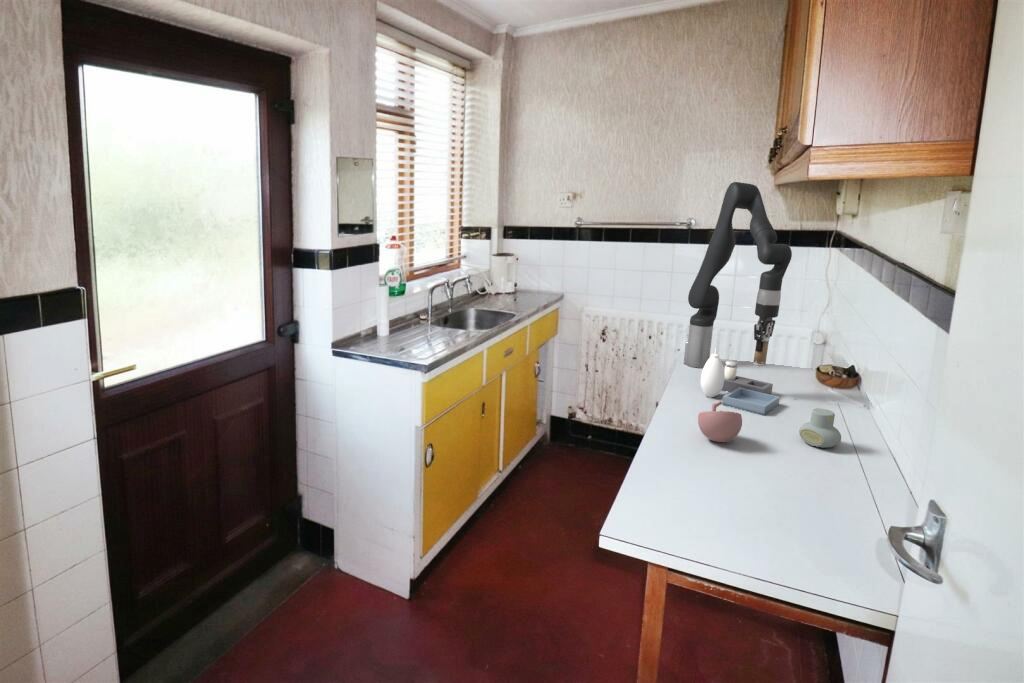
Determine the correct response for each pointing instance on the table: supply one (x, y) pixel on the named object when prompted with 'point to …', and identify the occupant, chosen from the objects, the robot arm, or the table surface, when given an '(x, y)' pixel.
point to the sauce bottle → (712, 376)
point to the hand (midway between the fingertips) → (761, 350)
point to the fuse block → (747, 385)
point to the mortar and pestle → (719, 424)
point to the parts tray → (751, 401)
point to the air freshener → (820, 429)
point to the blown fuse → (761, 354)
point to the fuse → (730, 370)
